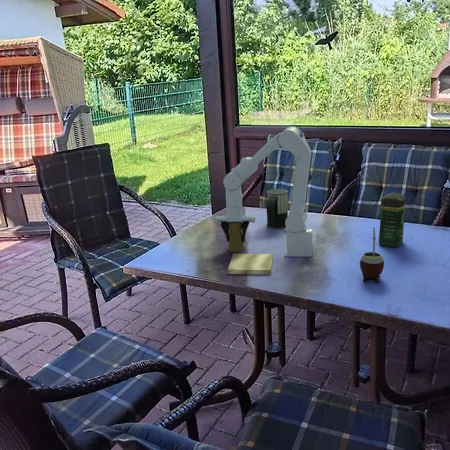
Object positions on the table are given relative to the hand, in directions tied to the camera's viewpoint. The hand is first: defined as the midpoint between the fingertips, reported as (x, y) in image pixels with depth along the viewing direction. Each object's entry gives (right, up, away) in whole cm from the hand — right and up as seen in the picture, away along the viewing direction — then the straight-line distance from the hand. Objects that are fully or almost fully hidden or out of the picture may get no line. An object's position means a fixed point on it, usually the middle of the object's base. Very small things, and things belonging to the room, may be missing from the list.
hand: (236, 240), depth 180 cm
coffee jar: (+57, -1, -1) cm, 57 cm away
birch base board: (+5, -8, -14) cm, 17 cm away
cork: (0, -3, +1) cm, 4 cm away
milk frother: (+21, +5, +23) cm, 31 cm away
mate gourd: (+41, -11, -28) cm, 51 cm away
